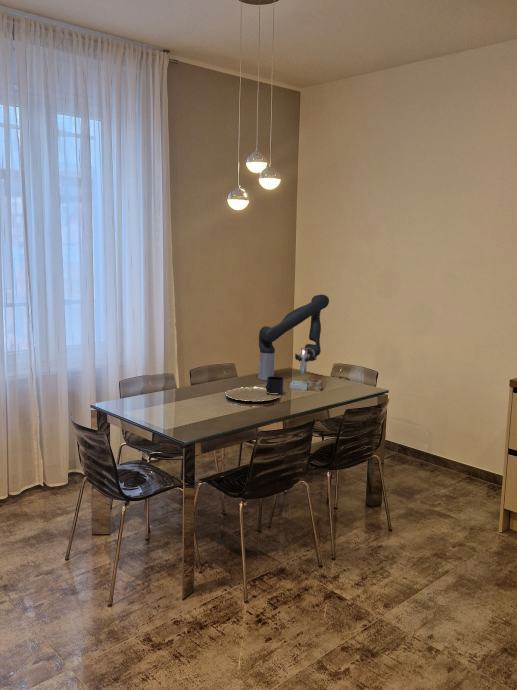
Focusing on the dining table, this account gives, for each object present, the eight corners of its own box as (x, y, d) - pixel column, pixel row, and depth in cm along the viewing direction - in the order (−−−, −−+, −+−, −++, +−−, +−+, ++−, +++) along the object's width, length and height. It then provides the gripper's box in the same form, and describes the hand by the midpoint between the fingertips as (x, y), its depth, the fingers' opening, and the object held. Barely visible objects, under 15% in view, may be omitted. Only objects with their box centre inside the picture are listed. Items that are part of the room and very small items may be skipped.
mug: (259, 393, 358) (260, 378, 356) (274, 390, 366) (275, 375, 365) (271, 397, 351) (272, 381, 350) (286, 393, 360) (286, 378, 358)
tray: (289, 388, 372) (290, 384, 371) (293, 384, 381) (293, 380, 381) (306, 390, 369) (306, 385, 369) (309, 386, 379) (309, 382, 378)
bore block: (306, 389, 370) (307, 381, 369) (308, 386, 378) (309, 378, 377) (320, 391, 368) (320, 383, 367) (322, 388, 376) (322, 380, 375)
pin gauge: (299, 373, 372) (300, 348, 369) (300, 372, 375) (301, 347, 372) (305, 373, 371) (306, 349, 368) (306, 372, 374) (307, 348, 371)
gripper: (297, 347, 386) (291, 352, 370) (319, 349, 383) (315, 354, 366) (296, 359, 387) (290, 365, 371) (318, 361, 384) (314, 367, 368)
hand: (302, 359), depth 369 cm, fingers closed on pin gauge, 3 cm apart
